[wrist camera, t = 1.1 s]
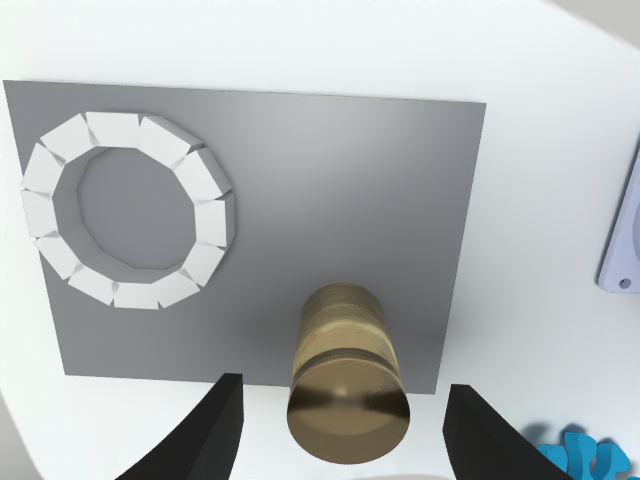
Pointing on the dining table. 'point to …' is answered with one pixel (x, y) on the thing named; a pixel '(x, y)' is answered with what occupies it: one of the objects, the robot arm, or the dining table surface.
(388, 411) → the brass shaft
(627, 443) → the dining table surface
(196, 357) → the housing plate
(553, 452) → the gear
